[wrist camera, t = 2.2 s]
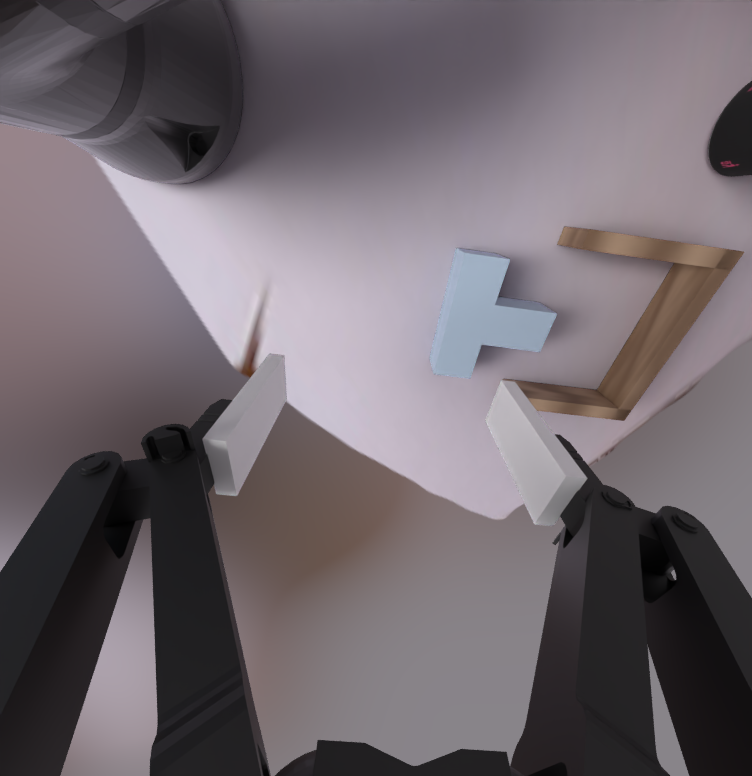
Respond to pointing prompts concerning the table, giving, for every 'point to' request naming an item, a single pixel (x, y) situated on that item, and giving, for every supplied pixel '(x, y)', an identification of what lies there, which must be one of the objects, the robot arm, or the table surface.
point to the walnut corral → (640, 322)
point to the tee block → (483, 315)
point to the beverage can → (733, 137)
